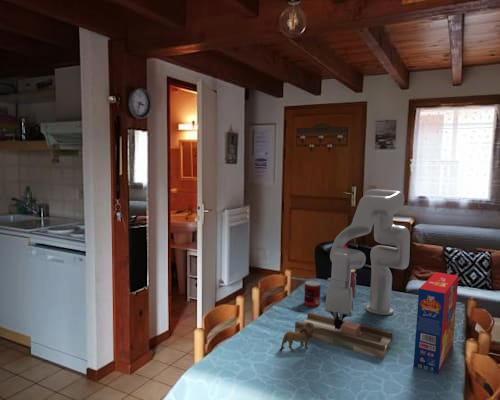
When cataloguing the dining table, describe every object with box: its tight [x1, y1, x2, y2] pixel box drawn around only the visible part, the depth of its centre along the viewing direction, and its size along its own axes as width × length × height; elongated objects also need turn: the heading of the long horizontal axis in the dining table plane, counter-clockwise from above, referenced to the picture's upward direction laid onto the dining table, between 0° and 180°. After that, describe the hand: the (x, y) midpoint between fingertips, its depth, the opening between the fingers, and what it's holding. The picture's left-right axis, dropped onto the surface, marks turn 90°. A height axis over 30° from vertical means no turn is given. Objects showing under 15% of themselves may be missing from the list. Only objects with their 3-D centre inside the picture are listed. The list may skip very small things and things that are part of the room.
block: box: [340, 320, 362, 337], centre depth 153 cm, size 6×6×4 cm
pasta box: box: [413, 271, 459, 375], centre depth 143 cm, size 28×8×28 cm, turn 144°
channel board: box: [294, 311, 393, 360], centre depth 155 cm, size 14×35×5 cm, turn 58°
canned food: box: [303, 280, 322, 308], centre depth 194 cm, size 8×8×11 cm
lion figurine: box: [279, 322, 314, 352], centre depth 146 cm, size 15×5×9 cm, turn 118°
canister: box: [350, 269, 358, 299], centre depth 210 cm, size 13×13×18 cm
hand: (338, 328), depth 156 cm, fingers closed
